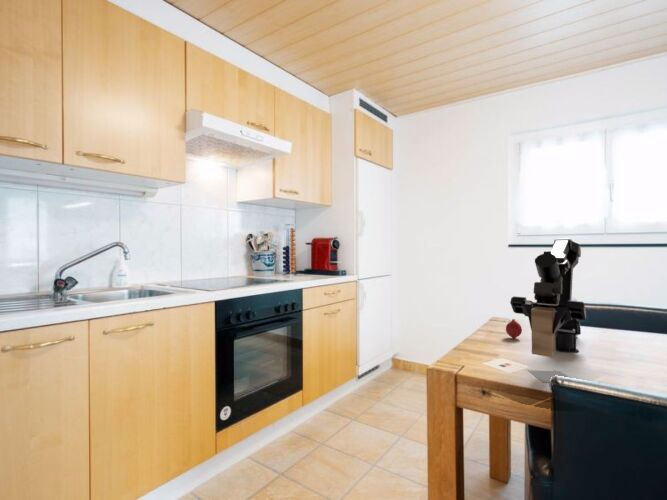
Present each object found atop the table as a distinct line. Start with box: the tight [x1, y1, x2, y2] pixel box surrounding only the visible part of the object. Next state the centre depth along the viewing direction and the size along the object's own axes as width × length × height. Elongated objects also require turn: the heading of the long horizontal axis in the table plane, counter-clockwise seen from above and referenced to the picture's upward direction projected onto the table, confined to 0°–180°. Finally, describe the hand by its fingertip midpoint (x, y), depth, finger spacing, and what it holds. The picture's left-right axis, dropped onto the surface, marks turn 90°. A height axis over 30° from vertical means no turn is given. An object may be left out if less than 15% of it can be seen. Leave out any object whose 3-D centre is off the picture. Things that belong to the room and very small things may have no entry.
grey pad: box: [528, 369, 569, 384], centre depth 98 cm, size 9×9×1 cm
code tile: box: [480, 357, 530, 374], centre depth 108 cm, size 10×10×1 cm
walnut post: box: [530, 307, 557, 358], centre depth 99 cm, size 5×5×13 cm
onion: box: [505, 318, 523, 339], centre depth 139 cm, size 6×6×8 cm
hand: (542, 331), depth 98 cm, fingers closed on walnut post, 5 cm apart
